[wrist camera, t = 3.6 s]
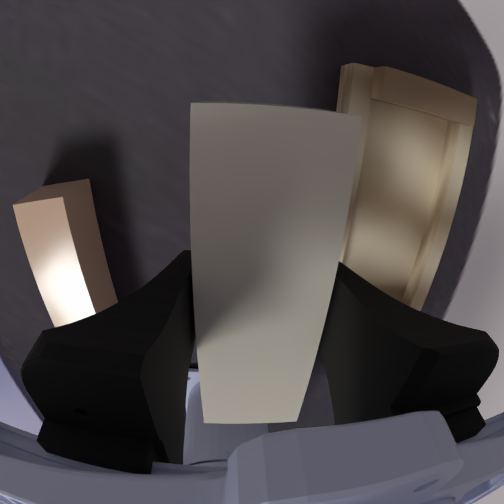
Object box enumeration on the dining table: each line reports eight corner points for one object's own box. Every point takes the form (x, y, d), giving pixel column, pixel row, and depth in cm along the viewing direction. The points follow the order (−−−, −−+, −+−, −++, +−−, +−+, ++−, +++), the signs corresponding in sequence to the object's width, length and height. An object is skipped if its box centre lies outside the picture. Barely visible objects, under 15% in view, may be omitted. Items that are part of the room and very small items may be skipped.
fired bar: (126, 323, 24) (113, 358, 20) (84, 322, 24) (68, 354, 20) (90, 177, 18) (62, 196, 15) (44, 185, 18) (12, 205, 15)
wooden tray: (401, 315, 25) (418, 342, 21) (301, 317, 24) (310, 349, 21) (456, 100, 16) (489, 105, 13) (340, 65, 16) (363, 60, 12)
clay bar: (284, 358, 16) (296, 421, 12) (207, 358, 16) (204, 423, 12) (318, 108, 10) (361, 116, 7) (205, 101, 10) (191, 103, 6)
